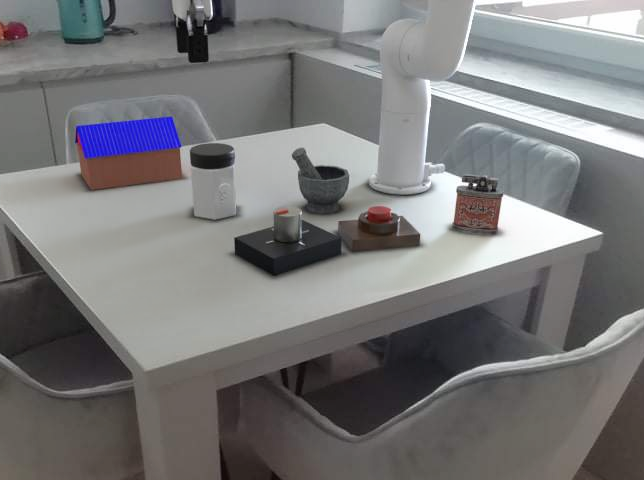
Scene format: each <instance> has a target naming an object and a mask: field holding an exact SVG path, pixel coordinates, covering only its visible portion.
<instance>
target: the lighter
mask: <svg viewBox="0 0 644 480" xmlns="http://www.w3.org/2000/svg"><path fill="white" fill-rule="evenodd" d="M461 183H466V184H468V185H457V186H456V190H455V192H456V198H455V199H456V200H455V207H454V217H453V221H452V224H451V225H452V226H451V229H452V230H454V231H458V232H461V233H462V232H463V233H468V234H475V235H476V234H477V235H488V236H489V235H490V236H493V235H494V236H495V235H497V234H498V233H499V221H500V213H501V207H502V201H503V200H502V199H503V197H504V193H505V191H504V190H503V189H501V188H498V184H499V178H498V177H492V176H491V177H490V176H488V174H487V173H482V174H481V175H477V174H470V173H463V174H462V175H461ZM474 184H475V185H474Z"/></svg>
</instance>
